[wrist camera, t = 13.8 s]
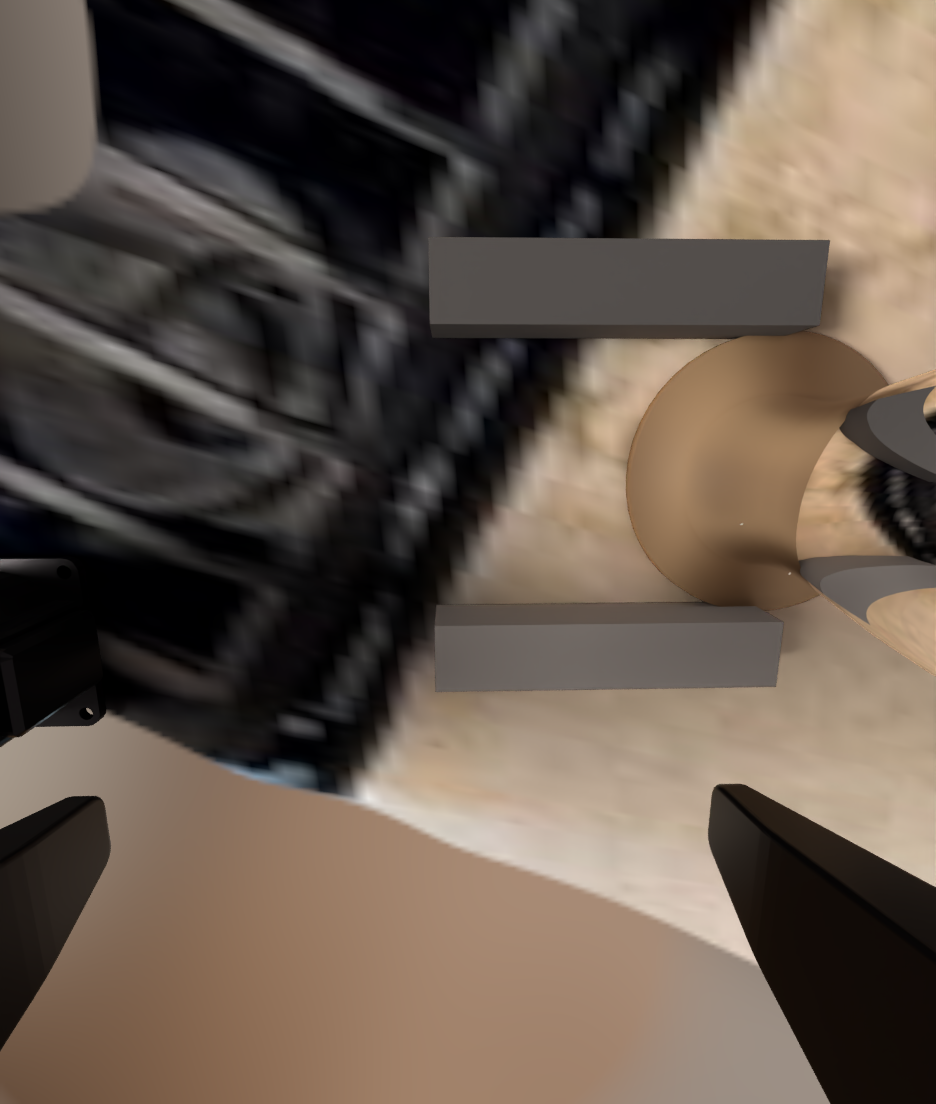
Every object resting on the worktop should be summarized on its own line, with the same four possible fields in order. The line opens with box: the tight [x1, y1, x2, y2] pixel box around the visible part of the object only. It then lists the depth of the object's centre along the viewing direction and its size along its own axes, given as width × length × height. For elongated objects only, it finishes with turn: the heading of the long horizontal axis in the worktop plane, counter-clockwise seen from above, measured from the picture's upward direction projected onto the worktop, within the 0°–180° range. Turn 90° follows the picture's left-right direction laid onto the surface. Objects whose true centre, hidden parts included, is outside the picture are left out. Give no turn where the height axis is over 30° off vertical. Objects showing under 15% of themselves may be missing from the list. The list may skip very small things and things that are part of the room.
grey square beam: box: [435, 602, 784, 692], centre depth 20 cm, size 12×2×2 cm, turn 90°
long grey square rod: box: [429, 237, 830, 339], centre depth 18 cm, size 12×2×2 cm, turn 90°
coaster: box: [626, 331, 888, 611], centre depth 20 cm, size 10×10×1 cm
